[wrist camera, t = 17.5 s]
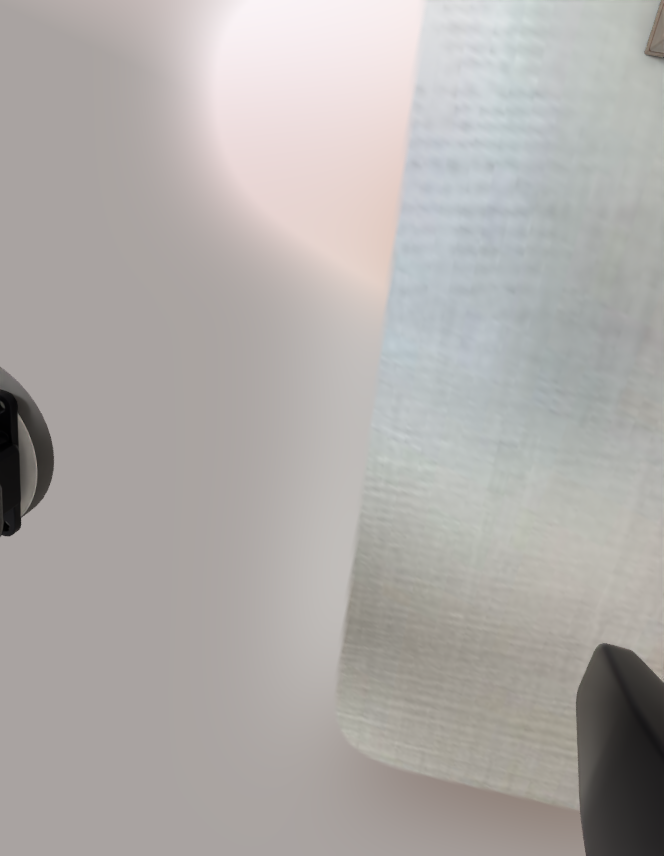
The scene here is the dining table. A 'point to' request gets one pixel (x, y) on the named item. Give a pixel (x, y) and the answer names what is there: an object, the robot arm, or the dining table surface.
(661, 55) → the tray
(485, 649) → the dining table surface
